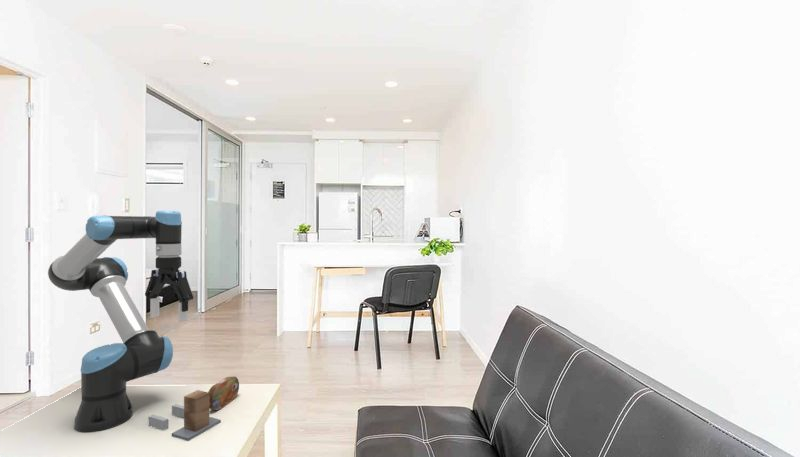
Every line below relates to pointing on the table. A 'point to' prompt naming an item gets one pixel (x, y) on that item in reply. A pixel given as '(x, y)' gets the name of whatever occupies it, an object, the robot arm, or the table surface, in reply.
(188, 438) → the slate plate
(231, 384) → the tin
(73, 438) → the table surface
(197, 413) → the walnut block
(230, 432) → the table surface
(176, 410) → the cradle
